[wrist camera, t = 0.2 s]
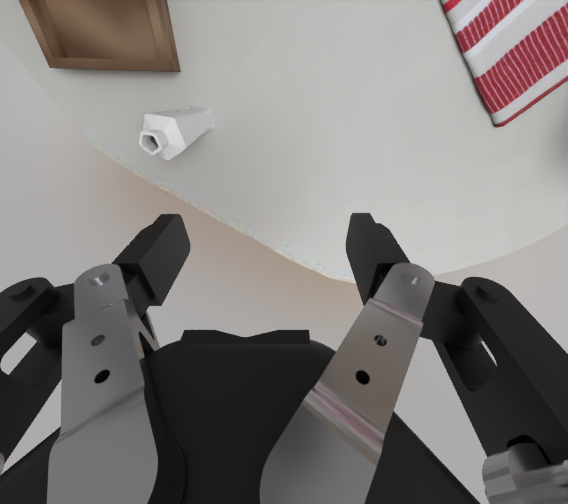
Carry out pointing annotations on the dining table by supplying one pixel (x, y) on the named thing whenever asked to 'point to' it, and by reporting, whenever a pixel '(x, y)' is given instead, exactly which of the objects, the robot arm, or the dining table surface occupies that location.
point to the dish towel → (512, 50)
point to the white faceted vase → (174, 131)
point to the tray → (104, 34)
